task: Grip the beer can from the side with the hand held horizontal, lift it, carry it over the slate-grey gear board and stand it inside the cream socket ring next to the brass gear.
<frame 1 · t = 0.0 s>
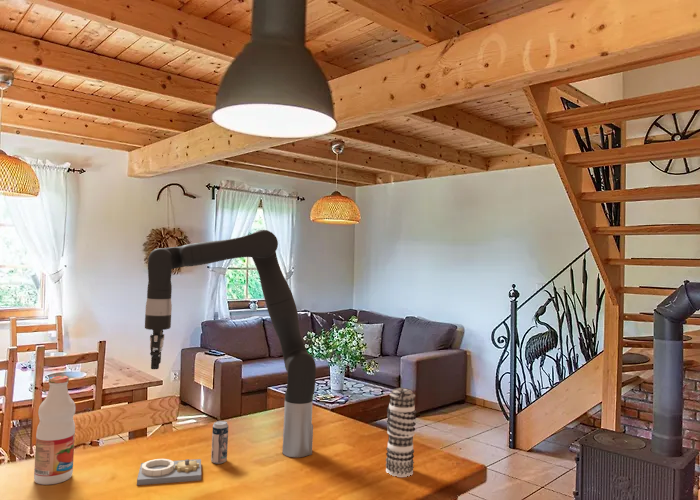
hand: (155, 366, 159), 29 cm above the table, tool pointing down, fingers open, 8 cm apart
gear board: (170, 474, 151), on the table
fruit juice: (53, 479, 145), on the table
decorative candle: (399, 472, 159), on the table
beer can: (218, 462, 161), on the table
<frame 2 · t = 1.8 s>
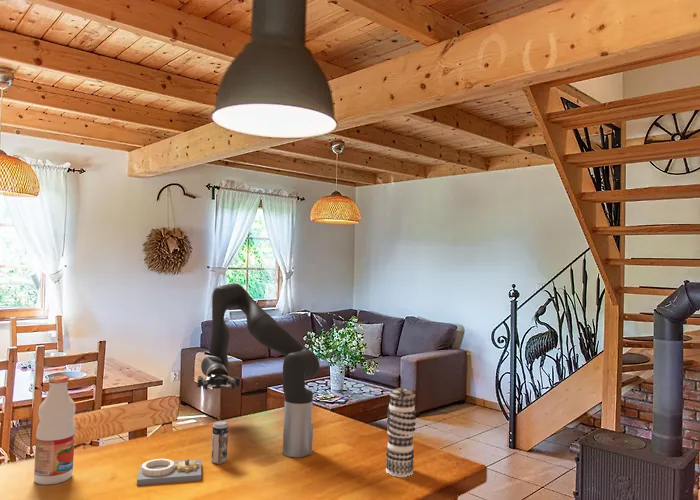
hand: (219, 386, 174), 20 cm above the table, tool horizontal, fingers open, 8 cm apart
nothing on the table moved.
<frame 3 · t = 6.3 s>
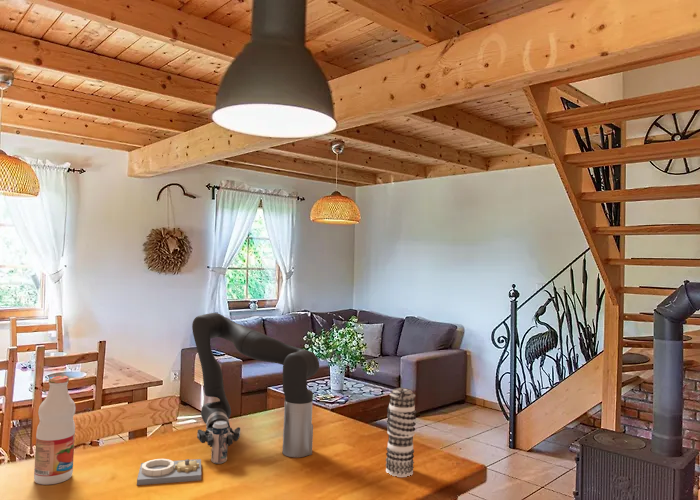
hand: (220, 442, 159), 7 cm above the table, tool horizontal, fingers closed on beer can, 4 cm apart
beer can: (218, 462, 161), on the table, touching gripper
everything else where it was.
when the fingers open (9 cm above the table, at t = 11.9 s): beer can stays where it is, resting on gear board.
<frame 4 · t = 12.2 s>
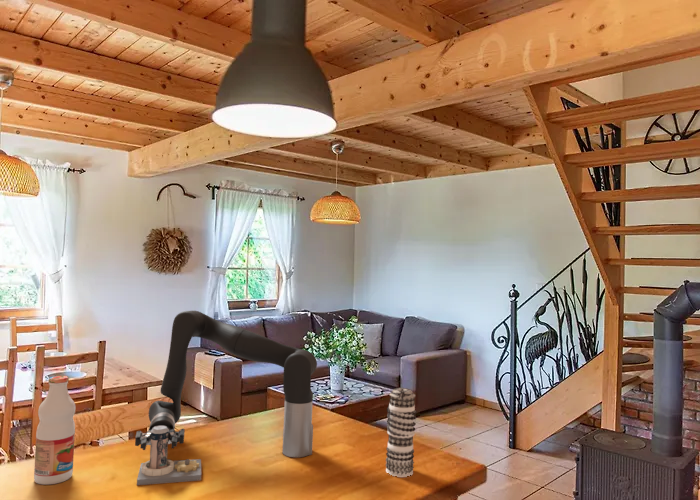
hand: (158, 445, 148), 9 cm above the table, tool horizontal, fingers open, 7 cm apart
beer can: (157, 470, 150), point 1 cm above the table, touching gear board
everything else where it was.
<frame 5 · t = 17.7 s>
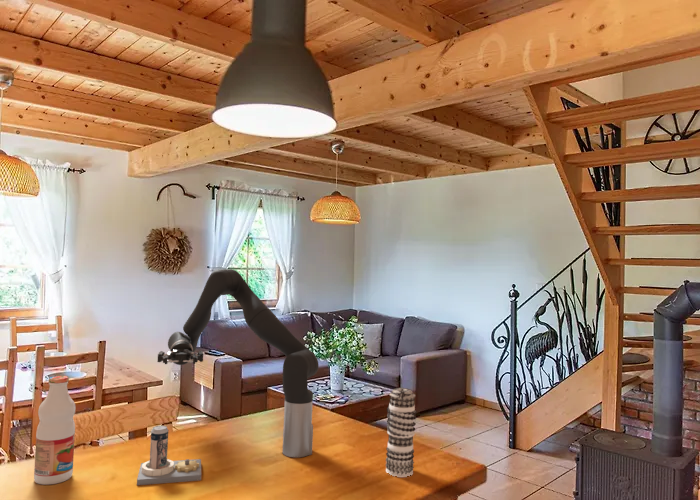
hand: (180, 360, 165), 30 cm above the table, tool horizontal, fingers open, 8 cm apart
nothing on the table moved.
at the end: beer can 0.2 cm from the target spot on the gear board, point 1.3 cm above the gear board's base; beer can tilted 0°; the gripper is holding nothing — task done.
